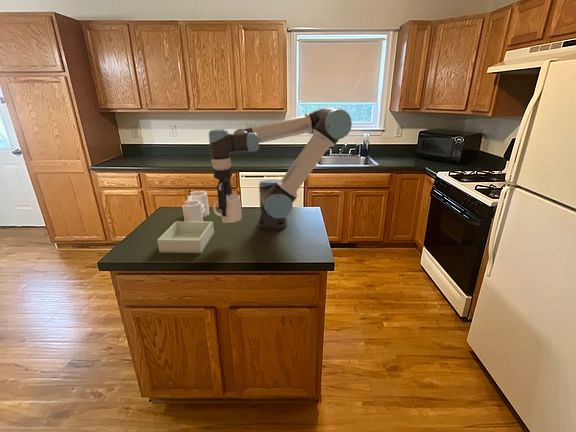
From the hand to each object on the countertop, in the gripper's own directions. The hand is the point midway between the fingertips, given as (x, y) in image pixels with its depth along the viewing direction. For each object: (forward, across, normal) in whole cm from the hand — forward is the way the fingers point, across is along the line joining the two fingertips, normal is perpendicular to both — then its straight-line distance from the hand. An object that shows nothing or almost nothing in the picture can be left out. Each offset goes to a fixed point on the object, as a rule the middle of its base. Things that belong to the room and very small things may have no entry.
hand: (228, 218), depth 136 cm
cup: (0, 0, 0) cm, 1 cm away
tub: (+10, +2, -19) cm, 22 cm away
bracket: (+11, -25, -23) cm, 36 cm away
